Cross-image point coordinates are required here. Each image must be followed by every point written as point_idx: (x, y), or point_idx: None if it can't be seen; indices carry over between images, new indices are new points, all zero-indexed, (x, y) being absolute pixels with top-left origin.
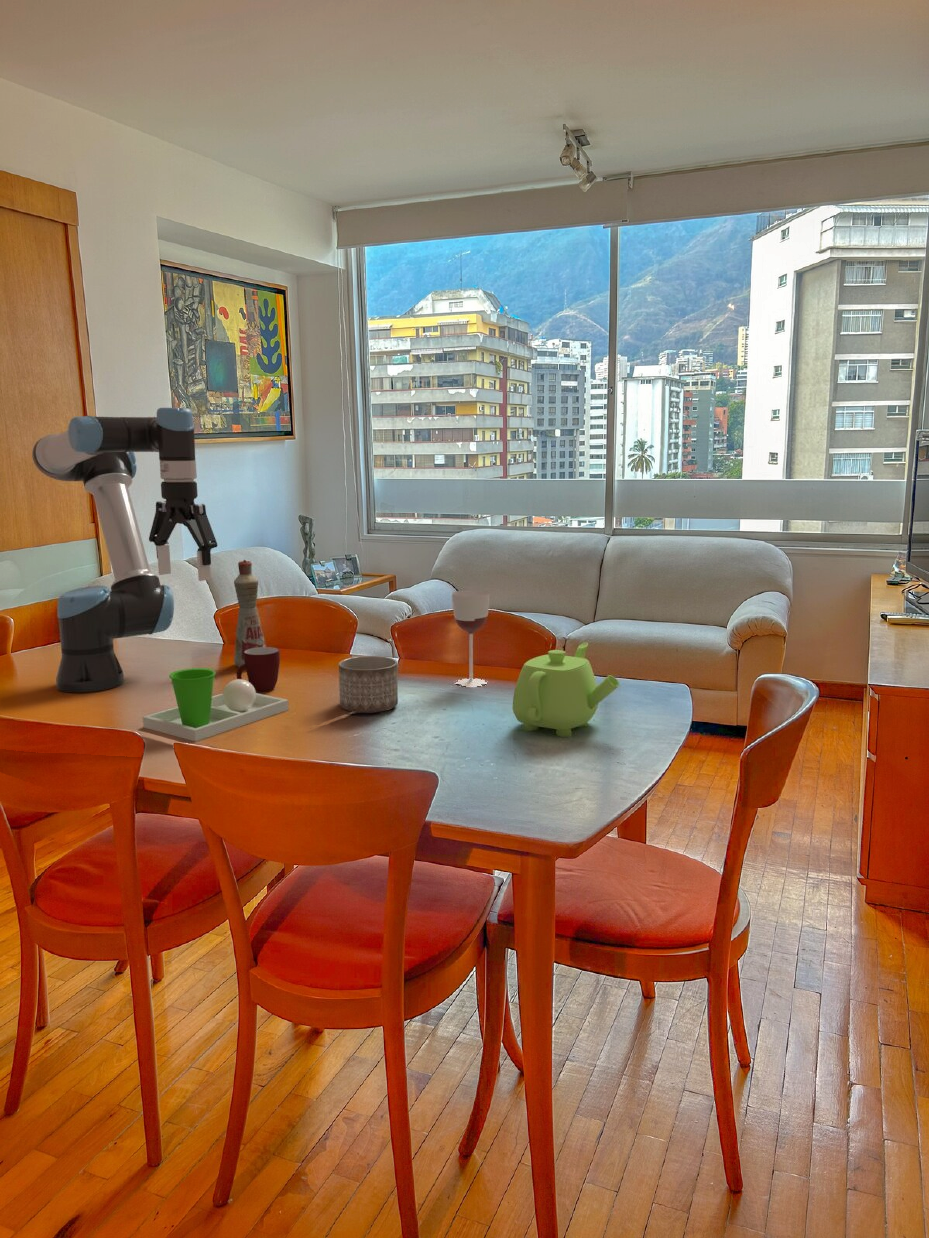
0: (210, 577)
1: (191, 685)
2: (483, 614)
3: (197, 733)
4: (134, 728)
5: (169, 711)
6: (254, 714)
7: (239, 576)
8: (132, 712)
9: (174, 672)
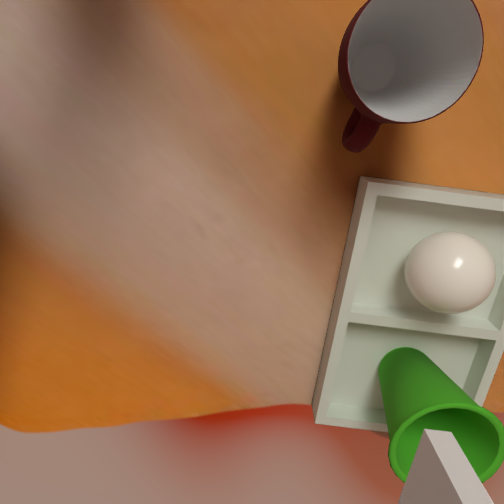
0: (458, 446)
1: None
2: None
3: None
4: (283, 399)
5: (335, 376)
6: None
7: None
8: (198, 334)
9: (392, 457)
